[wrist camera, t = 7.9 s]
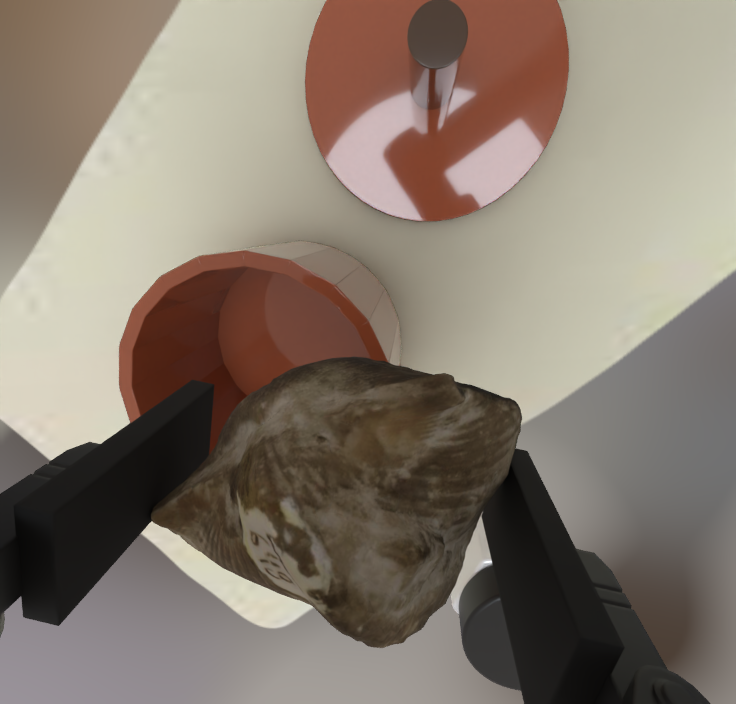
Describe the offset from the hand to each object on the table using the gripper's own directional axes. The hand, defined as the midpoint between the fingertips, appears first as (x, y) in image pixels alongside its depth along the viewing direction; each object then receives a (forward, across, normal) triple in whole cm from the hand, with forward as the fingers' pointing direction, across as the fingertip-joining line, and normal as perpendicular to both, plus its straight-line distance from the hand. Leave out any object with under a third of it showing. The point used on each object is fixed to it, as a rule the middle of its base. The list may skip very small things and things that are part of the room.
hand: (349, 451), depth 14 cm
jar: (+20, +13, -15) cm, 28 cm away
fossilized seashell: (0, 0, 0) cm, 0 cm away
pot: (+20, -6, -3) cm, 21 cm away
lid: (+19, 0, +16) cm, 25 cm away
